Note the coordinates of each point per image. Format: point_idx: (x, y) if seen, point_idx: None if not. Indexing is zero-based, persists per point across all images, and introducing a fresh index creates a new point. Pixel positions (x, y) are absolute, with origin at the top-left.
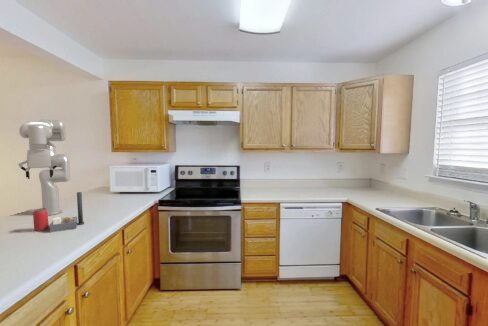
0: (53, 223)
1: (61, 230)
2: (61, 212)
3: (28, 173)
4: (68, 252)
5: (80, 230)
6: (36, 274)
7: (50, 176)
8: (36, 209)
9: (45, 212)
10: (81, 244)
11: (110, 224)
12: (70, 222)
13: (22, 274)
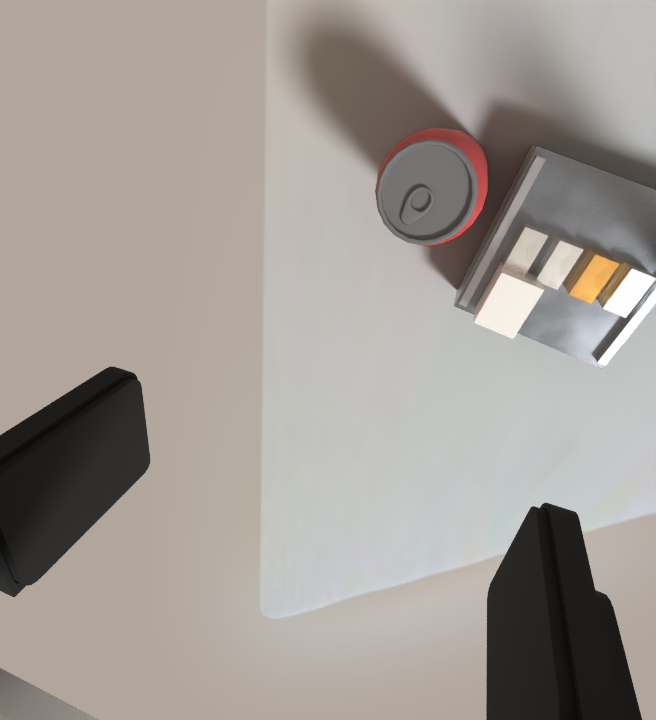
0: (475, 311)
1: None
2: None
3: (50, 556)
4: (408, 572)
5: (581, 402)
6: (312, 605)
7: (489, 611)
8: (403, 152)
9: (453, 238)
10: (471, 556)
11: None
12: (571, 351)
13: (289, 581)
